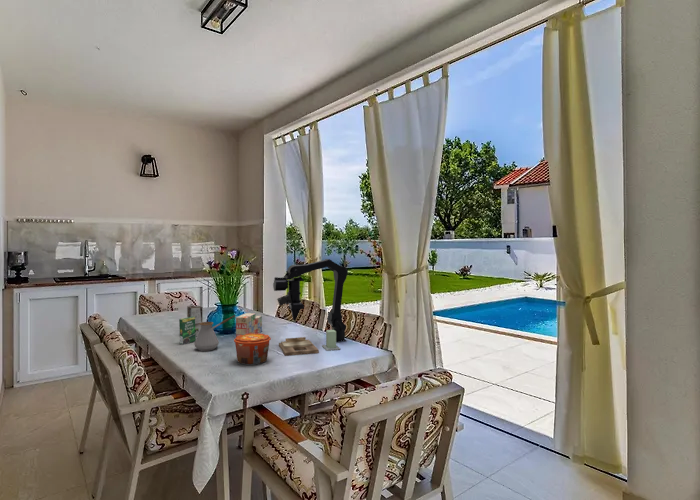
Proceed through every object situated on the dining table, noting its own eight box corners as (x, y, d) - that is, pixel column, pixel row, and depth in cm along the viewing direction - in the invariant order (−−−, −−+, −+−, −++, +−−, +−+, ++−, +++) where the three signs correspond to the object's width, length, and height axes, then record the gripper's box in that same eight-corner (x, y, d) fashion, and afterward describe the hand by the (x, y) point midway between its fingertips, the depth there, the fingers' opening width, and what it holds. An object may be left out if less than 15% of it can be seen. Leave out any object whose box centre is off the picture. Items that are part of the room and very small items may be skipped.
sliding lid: (308, 341, 220) (308, 336, 220) (312, 345, 211) (312, 340, 211) (281, 343, 215) (281, 338, 215) (284, 347, 207) (284, 342, 207)
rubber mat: (335, 345, 217) (335, 344, 217) (340, 349, 209) (340, 348, 209) (321, 346, 215) (321, 345, 215) (326, 350, 207) (326, 349, 207)
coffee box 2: (182, 344, 218) (182, 319, 218) (179, 344, 220) (178, 318, 219) (196, 341, 225) (195, 316, 224) (192, 340, 226) (192, 316, 226)
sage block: (333, 345, 215) (333, 329, 214) (336, 347, 211) (336, 331, 211) (326, 346, 213) (326, 330, 213) (328, 348, 210) (328, 331, 209)
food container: (276, 357, 196) (276, 333, 196) (261, 367, 181) (261, 342, 181) (244, 354, 200) (244, 332, 200) (227, 364, 185) (227, 340, 184)
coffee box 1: (203, 336, 237) (202, 307, 237) (191, 337, 234) (190, 308, 233) (198, 333, 245) (198, 304, 245) (186, 334, 241) (186, 305, 241)
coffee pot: (199, 353, 202) (199, 321, 202) (190, 348, 211) (190, 318, 210) (241, 346, 216) (241, 316, 216) (231, 341, 225) (231, 313, 224)
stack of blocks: (252, 331, 251) (251, 310, 250) (262, 331, 249) (262, 310, 249) (235, 339, 230) (235, 317, 229) (246, 340, 228) (246, 317, 228)
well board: (309, 343, 221) (309, 340, 221) (318, 353, 203) (318, 349, 203) (278, 346, 216) (278, 343, 216) (285, 355, 198) (285, 352, 198)
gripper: (275, 288, 225) (275, 318, 225) (281, 293, 207) (281, 325, 207) (296, 287, 228) (296, 316, 228) (304, 292, 210) (304, 323, 211)
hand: (294, 320), depth 219 cm, fingers closed
